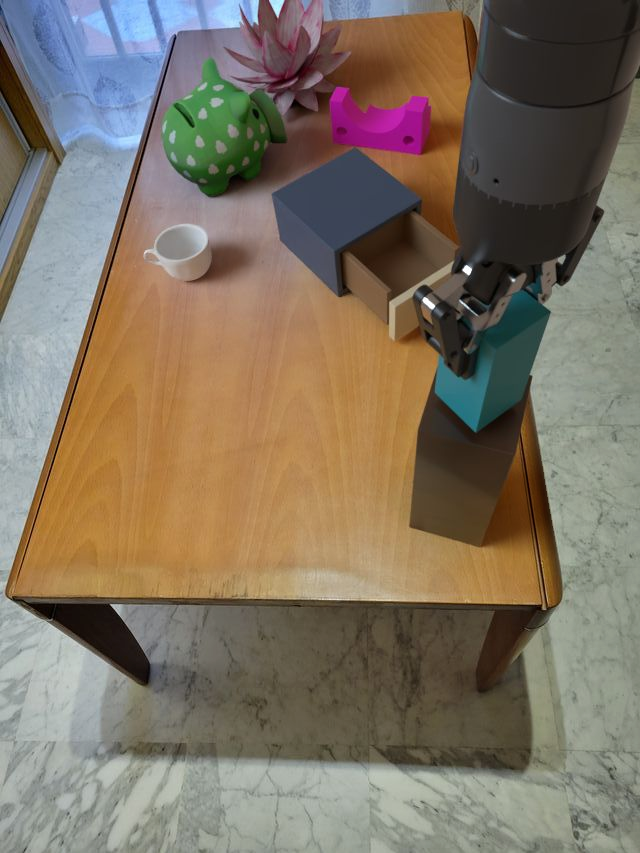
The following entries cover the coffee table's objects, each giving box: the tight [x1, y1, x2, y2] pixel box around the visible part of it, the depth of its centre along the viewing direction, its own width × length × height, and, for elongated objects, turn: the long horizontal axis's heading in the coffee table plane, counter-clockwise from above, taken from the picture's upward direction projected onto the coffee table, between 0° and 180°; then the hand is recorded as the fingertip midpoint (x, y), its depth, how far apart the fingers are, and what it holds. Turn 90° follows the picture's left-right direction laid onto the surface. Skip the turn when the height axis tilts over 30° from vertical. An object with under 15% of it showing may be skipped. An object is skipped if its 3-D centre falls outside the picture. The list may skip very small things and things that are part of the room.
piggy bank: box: [160, 57, 288, 198], centre depth 99 cm, size 14×18×15 cm
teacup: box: [143, 223, 213, 282], centre depth 92 cm, size 10×8×5 cm
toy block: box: [329, 86, 432, 156], centre depth 103 cm, size 15×6×8 cm, turn 71°
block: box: [435, 290, 552, 432], centre depth 48 cm, size 5×5×11 cm
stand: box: [408, 365, 533, 548], centre depth 63 cm, size 8×8×22 cm
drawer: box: [340, 210, 460, 343], centre depth 84 cm, size 18×14×7 cm
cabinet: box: [271, 146, 423, 298], centre depth 91 cm, size 15×15×9 cm
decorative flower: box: [223, 0, 352, 117], centre depth 108 cm, size 21×21×15 cm
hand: (488, 349), depth 47 cm, fingers closed on block, 5 cm apart
